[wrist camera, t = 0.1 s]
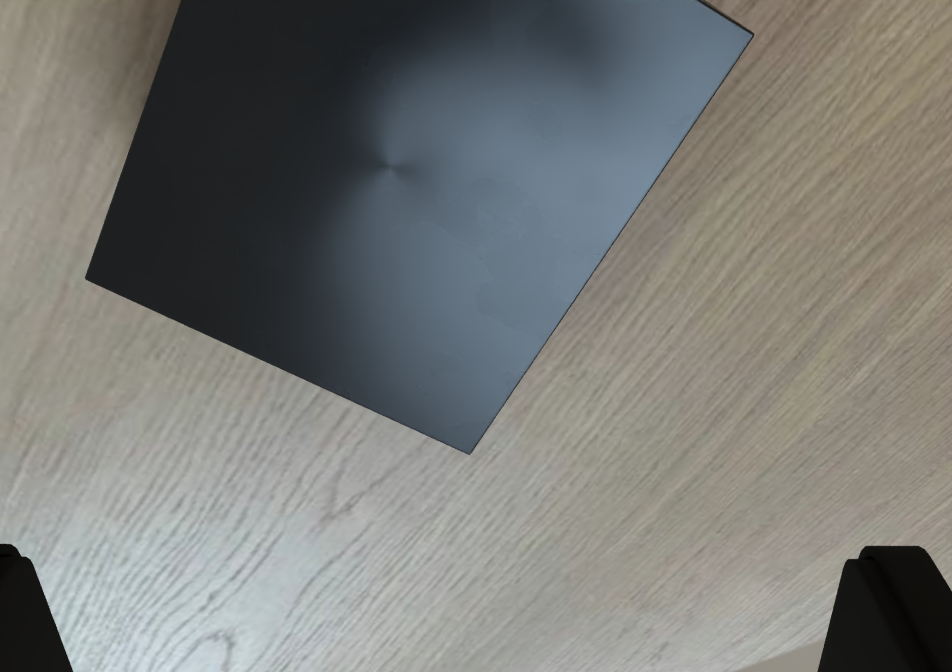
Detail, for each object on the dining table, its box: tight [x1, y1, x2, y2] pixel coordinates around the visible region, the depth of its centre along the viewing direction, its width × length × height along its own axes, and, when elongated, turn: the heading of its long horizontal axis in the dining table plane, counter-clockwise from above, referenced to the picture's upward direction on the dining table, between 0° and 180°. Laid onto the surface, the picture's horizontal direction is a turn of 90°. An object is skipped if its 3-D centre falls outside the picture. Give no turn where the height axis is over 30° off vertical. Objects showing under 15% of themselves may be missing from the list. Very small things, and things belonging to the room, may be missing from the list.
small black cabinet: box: [85, 0, 754, 455], centre depth 26 cm, size 15×13×8 cm
